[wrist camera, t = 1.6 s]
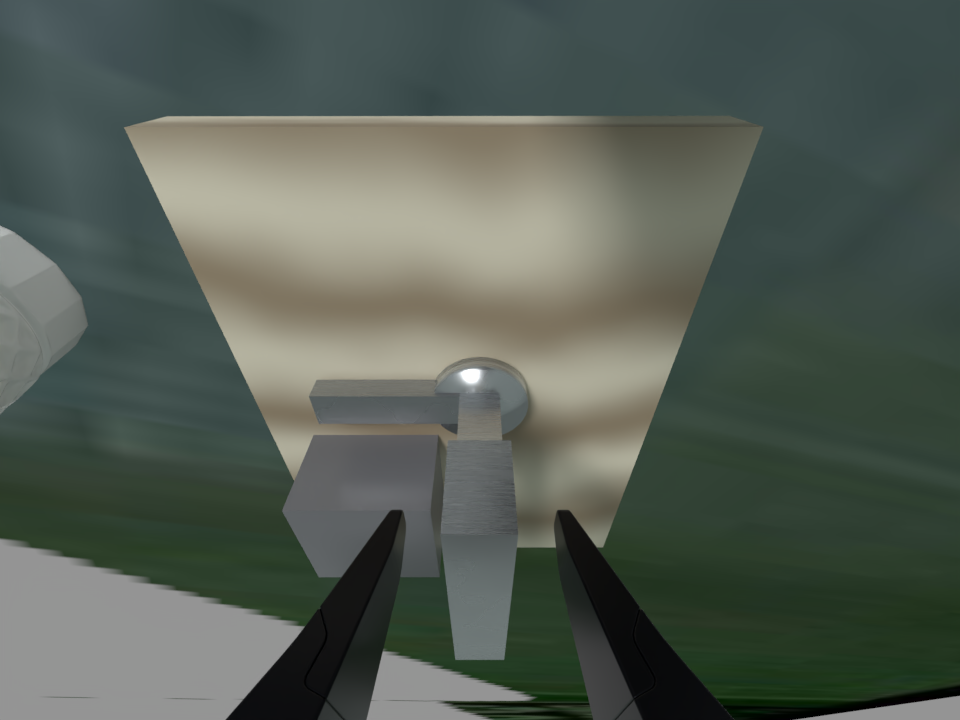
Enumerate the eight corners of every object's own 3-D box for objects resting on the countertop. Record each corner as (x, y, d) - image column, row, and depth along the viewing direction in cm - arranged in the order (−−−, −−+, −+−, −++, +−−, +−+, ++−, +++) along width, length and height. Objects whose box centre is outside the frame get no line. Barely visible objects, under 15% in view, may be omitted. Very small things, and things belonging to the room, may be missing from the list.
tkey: (294, 314, 15) (148, 535, 8) (534, 314, 15) (576, 534, 8) (341, 453, 20) (272, 659, 13) (520, 453, 20) (540, 659, 13)
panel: (166, 116, 13) (124, 127, 11) (729, 115, 13) (763, 126, 11) (334, 518, 28) (326, 547, 26) (595, 518, 28) (602, 547, 26)
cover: (313, 434, 20) (281, 511, 16) (438, 434, 20) (430, 510, 16) (340, 504, 23) (318, 577, 20) (444, 504, 23) (439, 577, 20)
